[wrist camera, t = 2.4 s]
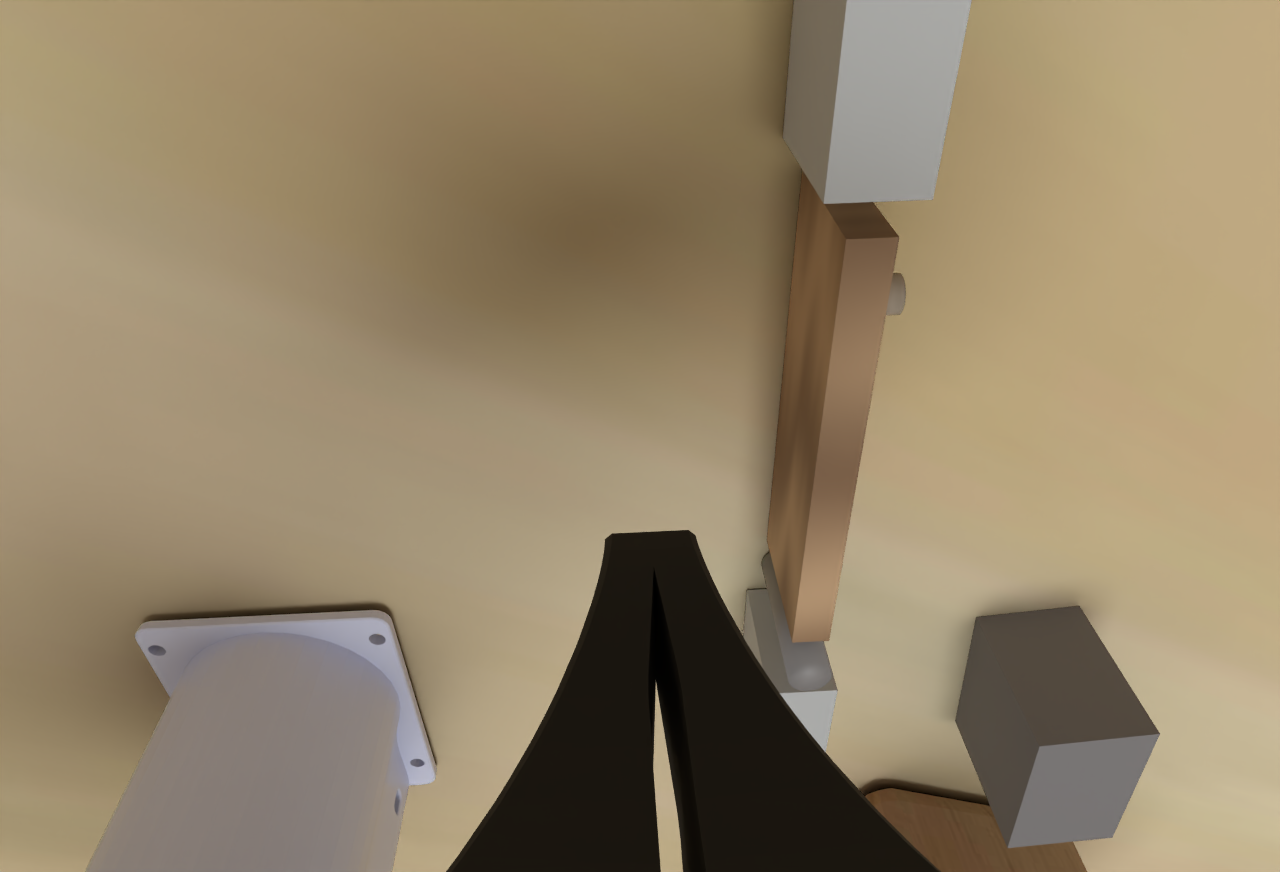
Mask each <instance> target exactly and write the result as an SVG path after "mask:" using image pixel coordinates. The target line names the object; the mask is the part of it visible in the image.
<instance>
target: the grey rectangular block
mask: <svg viewBox="0 0 1280 872" xmlns="http://www.w3.org/2000/svg"><path fill="white" fill-rule="evenodd" d="M955 721H956V724H957V726H958V729H959V731H960V733H961V736H962V738H963V741H964V743H965V746H966V748H967V750H968V753H969V755H970V758H971V760H972V763H973V765H974V768H975V770H976V772H977V775H978V777H979V780H980V782H981V785H982V787H983V790H984V792H985V794H986V797H987V799H988V802H989V804H990V807H991V809H992V812H993V814H994V816H995V819H996V821H997V824H998V826H999V829H1000V831H1001V834H1002V836H1003V838H1004V841H1005V843H1006V846H1007V848H1014V847H1024V846H1034V845H1044V844H1054V843H1064V842H1073V841H1083V840H1093V839H1103V838H1112V837H1113V835H1114V832H1115V830H1116V828H1117V826H1118V824H1119V822H1120V819H1121V817H1122V815H1123V813H1124V811H1125V809H1126V806H1127V804H1128V802H1129V800H1130V798H1131V796H1132V793H1133V791H1134V789H1135V787H1136V785H1137V783H1138V780H1139V778H1140V776H1141V774H1142V772H1143V770H1144V767H1145V765H1146V763H1147V761H1148V759H1149V757H1150V754H1151V752H1152V750H1153V748H1154V746H1155V744H1156V741H1157V739H1158V737H1159V735H1160V733H1159V732H1158V730H1157V728H1156V727H1155V725H1154V724H1153V722H1152V720H1151V719H1150V717H1149V716H1148V714H1147V713H1146V711H1145V709H1144V708H1143V706H1142V705H1141V703H1140V701H1139V700H1138V698H1137V697H1136V695H1135V693H1134V692H1133V690H1132V689H1131V687H1130V686H1129V684H1128V682H1127V681H1126V679H1125V678H1124V676H1123V674H1122V673H1121V671H1120V670H1119V668H1118V667H1117V665H1116V663H1115V662H1114V660H1113V659H1112V657H1111V655H1110V654H1109V652H1108V651H1107V649H1106V647H1105V646H1104V644H1103V643H1102V641H1101V640H1100V638H1099V636H1098V635H1097V633H1096V632H1095V630H1094V628H1093V627H1092V625H1091V624H1090V622H1089V621H1088V619H1087V617H1086V616H1085V614H1084V613H1083V611H1082V609H1081V608H1080V606H1074V607H1065V608H1055V609H1046V610H1037V611H1028V612H1018V613H1009V614H1000V615H991V616H981V617H976V620H975V625H974V630H973V635H972V640H971V645H970V650H969V655H968V660H967V665H966V670H965V675H964V680H963V685H962V690H961V695H960V700H959V705H958V710H957V715H956V720H955Z"/></svg>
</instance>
